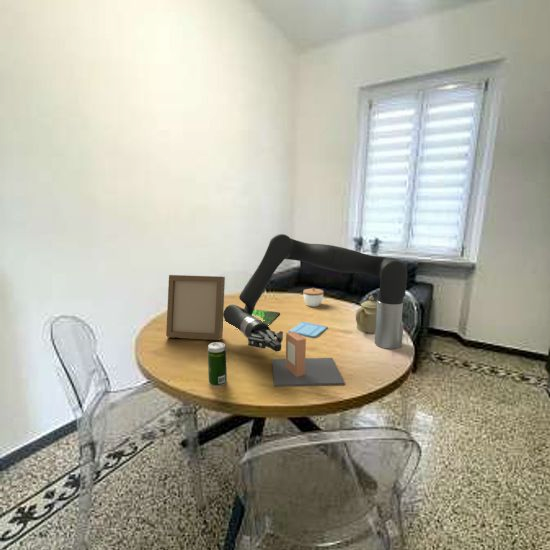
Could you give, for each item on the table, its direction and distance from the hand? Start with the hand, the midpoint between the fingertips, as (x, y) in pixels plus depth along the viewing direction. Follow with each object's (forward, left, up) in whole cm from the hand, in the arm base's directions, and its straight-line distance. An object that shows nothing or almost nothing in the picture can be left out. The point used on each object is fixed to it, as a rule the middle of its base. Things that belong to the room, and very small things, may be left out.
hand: (278, 348), depth 103 cm
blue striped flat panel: (-15, -43, -11) cm, 47 cm away
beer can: (+18, 0, -11) cm, 21 cm away
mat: (-9, -6, -11) cm, 15 cm away
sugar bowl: (-42, -41, -11) cm, 60 cm away
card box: (-6, -5, -10) cm, 13 cm away
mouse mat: (+9, -57, -11) cm, 59 cm away
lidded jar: (-24, -79, -11) cm, 83 cm away
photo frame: (+30, -40, -11) cm, 52 cm away
